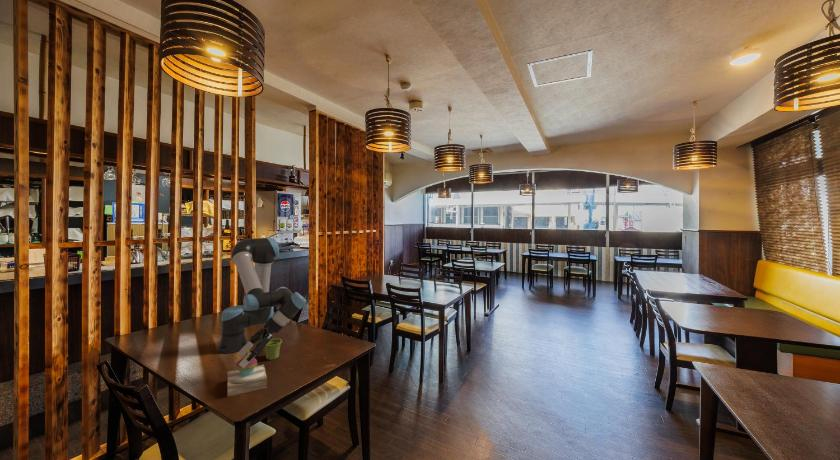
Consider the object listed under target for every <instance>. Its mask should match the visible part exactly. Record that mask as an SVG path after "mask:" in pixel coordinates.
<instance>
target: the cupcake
mask: <svg viewBox="0 0 840 460" xmlns="http://www.w3.org/2000/svg"><path fill="white" fill-rule="evenodd" d="M249 353H250V349H249V348H248V352H247V355H248V354H249ZM244 358H245V357H244ZM244 358H241V359H240V360H238V362H237V363H236V364H235V365H236V366H235V368H236V369H235V370H239V372H240V374H241V376H249V375H251V374H252V373H253V370H254V368H255V366H258V360H257V358H255V357H254V358H253V359H252V360H251V361H250V362H249V363H248V364H247V366H246V367H245V368H243V367H241V366H240V365H239V363H240V362H241V361H242V360H243V359H244Z"/></svg>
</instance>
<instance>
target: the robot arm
mask: <svg viewBox="0 0 840 460" xmlns="http://www.w3.org/2000/svg"><path fill="white" fill-rule="evenodd" d="M279 255H280V247H279V243H278V242H277V240H276V239H275V238H272V237H258V238H256V237H255V238H244V239H241V240H239V241H237V243H236V244H235V245H234V246H233V248H232V250H231V253H230V259H231V262H232V263H233V264H234V265H235V266H236V270H237V271H238V272H237V273H238V275H239V277H240V281H241V284H242V287H243V289H244V292H245V295H244V296H243V299H242V302H243V304H241V305H240V304H239V305H237V304H236V305H233V306H229V307H227V308H225V309H224V310H223V311H222V312H221V315H220V316H221V317H220V320H221V321H220V322H221V324H220V325H221V329H220V330H221V331H220V332H221V333H220V335H221V337H220V340H219V341H218V342H219V343H218V346H217V352H219V353H220V354H232V353H238V354H239V355H240V356H242V357H244V356H245V355H246V354H247V355H246V356H245V357H244V359H243V358H242V359H243V360H242V361H241V362H240V363H239V365H240V366H241V367H243V368H245V367H246V366H247V364H248V363H249V362H250V361H251V360H252V359H253V358H255V357H259V356H260V354H261V353H262V351H263V350H265V346H266V345H267V343H268V342H269V341H270V339H273V337H274V335H273V334H274V333H275V334H279V333H280V332H281V330H283V328H284V327H285V326H286V325H287V323H288V324H289V323H290V321H291V319H293V318H294V317H295V316H296V314H298V312H299V311H300V310H301V309H302V308H303V307H304V305H305V304H306V303H307V299H306V298H305V297H304V296H302V295H301V294H300V293H299V292H298V291H295V292H294V293H293V292H292V290H291V289H290V288H287V287H286V286H280V287H278V288H276V289H275V290H274V291H270V283H271V271H272V264H273V263H275V259H277V258H278V257H279ZM275 307H279V308H278V309H277V310H276V311H275V310H274V308H275ZM274 311H275V312H274ZM260 325H263V326H262V327H261V328H260V329H259V330H258V331H257V332H256V333H254V334H253V335H251V336H250V339H248V337H247V335H246V328H251V327H256V326H260ZM254 345H255V346H254ZM253 346H254V347H253ZM252 347H253V349H252ZM248 348H249V354H248ZM251 349H252V350H251Z"/></svg>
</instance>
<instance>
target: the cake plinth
mask: <svg viewBox="0 0 840 460" xmlns="http://www.w3.org/2000/svg"><path fill="white" fill-rule="evenodd" d="M267 388H268V377H267V373H266V368H265V365H264V364H262V365H257V366H255V368H254V370H253V373H252V374H251V375H249V376H241V374H240V372H239V370H237V369H235V370H231V371H227V397H229V398H230V397H234V396H237V395H242V394H246V393H249V392H255V391H259V390H263V389H267Z"/></svg>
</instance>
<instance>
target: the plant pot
mask: <svg viewBox="0 0 840 460" xmlns="http://www.w3.org/2000/svg"><path fill="white" fill-rule="evenodd" d="M282 342H283V340H282V339H281V338H271V339H270V341H269V342H268V343H267V345H266V346H265V347H264V351H265V356H266V358H265V359H266V360H270V361H273V360H276V359H278V358H279V357H280V349H281V344H282Z"/></svg>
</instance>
